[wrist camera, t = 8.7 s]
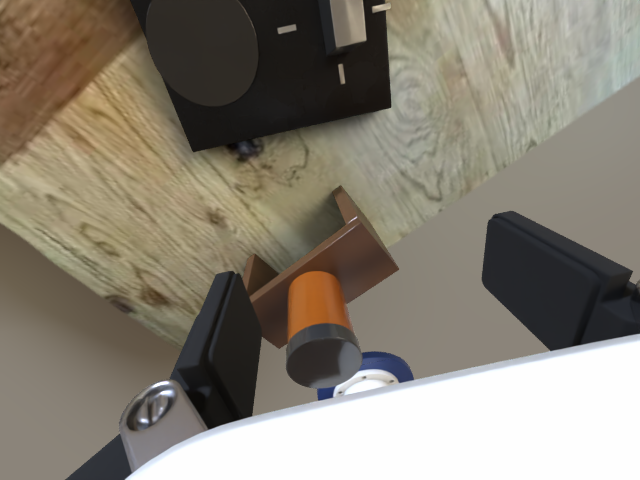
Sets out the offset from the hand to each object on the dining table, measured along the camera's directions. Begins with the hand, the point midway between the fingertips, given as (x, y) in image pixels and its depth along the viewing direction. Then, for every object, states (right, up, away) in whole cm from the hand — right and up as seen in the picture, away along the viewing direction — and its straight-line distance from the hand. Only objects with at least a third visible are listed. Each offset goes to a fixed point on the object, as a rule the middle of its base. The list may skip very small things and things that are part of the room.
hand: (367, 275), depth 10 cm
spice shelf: (-3, +1, +22) cm, 22 cm away
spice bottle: (-2, -3, +14) cm, 14 cm away
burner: (-10, +16, +10) cm, 22 cm away
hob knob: (-1, +18, +10) cm, 21 cm away
